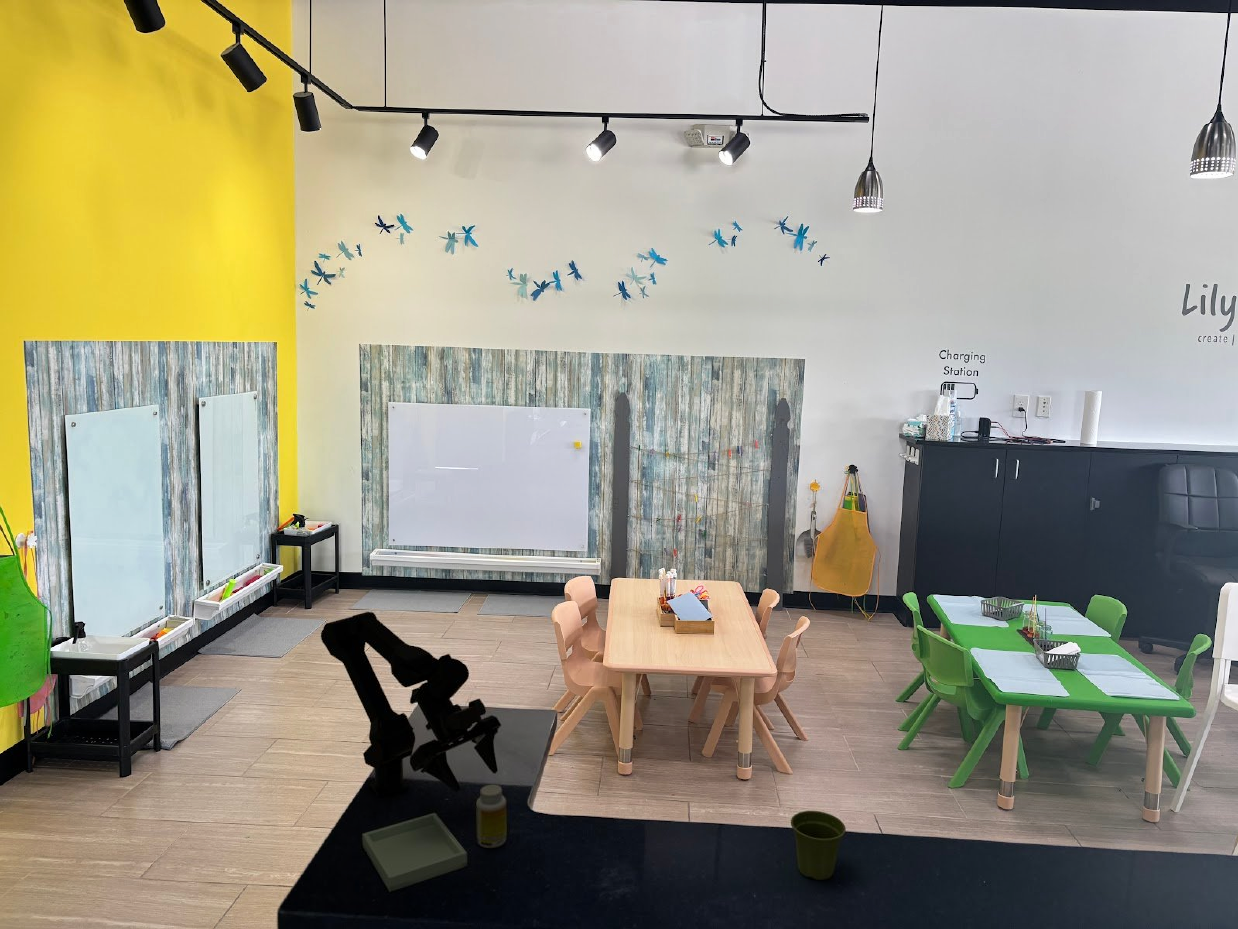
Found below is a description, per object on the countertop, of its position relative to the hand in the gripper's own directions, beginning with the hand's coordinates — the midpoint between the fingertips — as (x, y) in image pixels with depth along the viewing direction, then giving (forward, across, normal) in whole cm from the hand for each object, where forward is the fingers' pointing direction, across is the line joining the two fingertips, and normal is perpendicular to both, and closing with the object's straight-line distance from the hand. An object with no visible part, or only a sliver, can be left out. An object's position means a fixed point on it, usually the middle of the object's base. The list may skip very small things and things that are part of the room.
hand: (477, 781), depth 161 cm
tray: (+5, -12, +10) cm, 17 cm away
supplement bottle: (+10, 0, +5) cm, 11 cm away
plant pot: (+46, +31, -31) cm, 64 cm away
